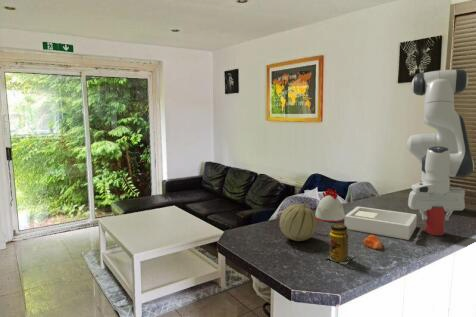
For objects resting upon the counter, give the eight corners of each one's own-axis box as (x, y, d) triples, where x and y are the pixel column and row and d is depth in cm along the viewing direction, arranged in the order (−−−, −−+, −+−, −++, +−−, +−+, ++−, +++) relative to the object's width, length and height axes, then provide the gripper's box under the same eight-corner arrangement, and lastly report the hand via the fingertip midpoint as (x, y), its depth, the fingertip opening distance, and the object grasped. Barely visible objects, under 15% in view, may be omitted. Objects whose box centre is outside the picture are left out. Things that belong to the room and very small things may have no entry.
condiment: (325, 259, 114) (325, 226, 112) (335, 251, 120) (335, 220, 119) (345, 265, 109) (345, 230, 108) (355, 256, 115) (355, 223, 114)
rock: (376, 257, 116) (377, 246, 115) (349, 246, 126) (349, 235, 126) (397, 249, 122) (398, 238, 121) (369, 239, 132) (370, 229, 132)
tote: (357, 219, 156) (357, 206, 155) (416, 229, 141) (416, 214, 140) (344, 230, 142) (344, 216, 141) (408, 242, 127) (409, 226, 126)
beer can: (446, 236, 131) (448, 207, 130) (428, 235, 133) (429, 207, 131) (440, 231, 138) (441, 203, 136) (423, 230, 139) (424, 202, 138)
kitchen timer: (334, 226, 148) (334, 193, 146) (309, 219, 158) (309, 189, 156) (350, 219, 157) (351, 188, 155) (326, 213, 167) (326, 184, 166)
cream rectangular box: (359, 221, 150) (359, 210, 150) (377, 224, 146) (378, 213, 145) (353, 226, 144) (354, 215, 143) (372, 229, 139) (373, 218, 139)
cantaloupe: (273, 236, 137) (272, 201, 135) (302, 231, 142) (302, 197, 141) (292, 249, 123) (292, 210, 121) (324, 242, 129) (324, 205, 127)
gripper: (461, 185, 134) (459, 218, 136) (407, 185, 138) (406, 217, 140) (469, 188, 128) (467, 223, 130) (412, 188, 132) (411, 221, 133)
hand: (435, 220), depth 135 cm, fingers closed on beer can, 7 cm apart
